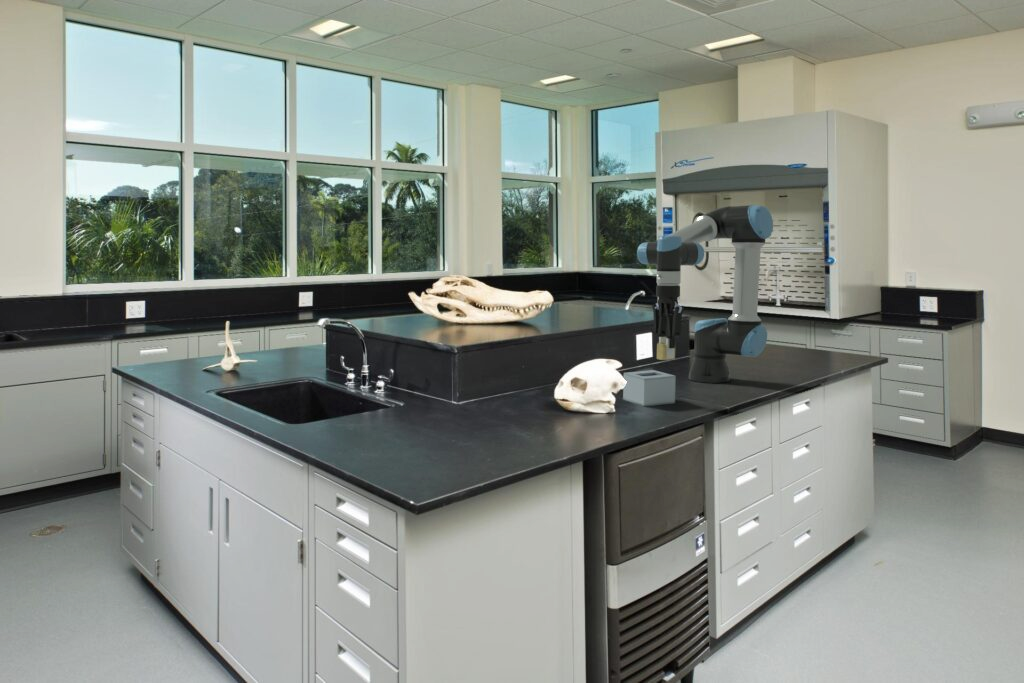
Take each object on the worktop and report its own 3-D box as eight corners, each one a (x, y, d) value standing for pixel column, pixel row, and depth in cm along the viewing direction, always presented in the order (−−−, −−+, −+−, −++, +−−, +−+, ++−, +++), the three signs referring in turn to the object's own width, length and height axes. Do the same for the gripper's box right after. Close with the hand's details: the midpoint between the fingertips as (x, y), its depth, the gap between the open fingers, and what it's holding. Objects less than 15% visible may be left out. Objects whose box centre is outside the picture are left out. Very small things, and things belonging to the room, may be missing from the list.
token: (669, 358, 246) (669, 342, 246) (674, 359, 244) (675, 343, 243) (656, 358, 244) (657, 343, 243) (662, 360, 241) (662, 344, 241)
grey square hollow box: (653, 396, 255) (653, 370, 254) (674, 403, 245) (675, 375, 243) (623, 399, 250) (623, 372, 249) (643, 406, 240) (644, 378, 238)
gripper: (643, 283, 246) (641, 355, 249) (674, 286, 232) (672, 361, 235) (662, 283, 250) (660, 353, 253) (694, 285, 235) (691, 360, 238)
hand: (666, 357), depth 244 cm, fingers closed on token, 3 cm apart
